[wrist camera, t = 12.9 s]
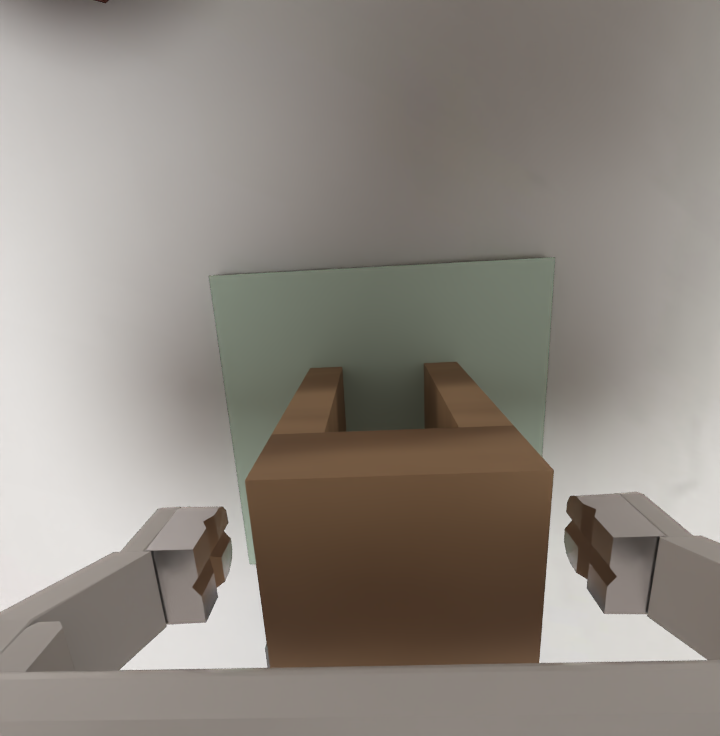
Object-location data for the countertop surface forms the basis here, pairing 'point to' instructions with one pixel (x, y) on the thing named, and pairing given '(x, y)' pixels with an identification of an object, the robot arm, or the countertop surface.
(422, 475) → the wooden block
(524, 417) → the mat
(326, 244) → the countertop surface
